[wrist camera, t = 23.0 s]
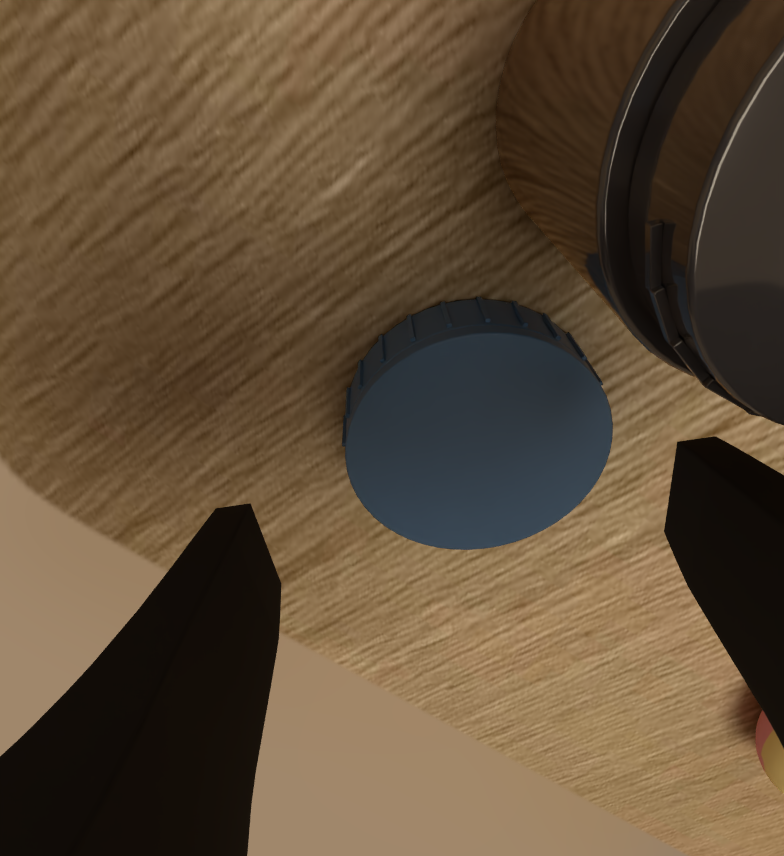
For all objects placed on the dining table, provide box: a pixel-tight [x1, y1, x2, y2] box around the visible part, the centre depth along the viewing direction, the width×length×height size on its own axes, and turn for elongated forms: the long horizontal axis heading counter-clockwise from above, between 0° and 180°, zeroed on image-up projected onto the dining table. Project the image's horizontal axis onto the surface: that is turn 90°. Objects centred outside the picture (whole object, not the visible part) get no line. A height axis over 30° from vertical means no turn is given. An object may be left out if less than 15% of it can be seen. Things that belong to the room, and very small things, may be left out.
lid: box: [342, 297, 613, 550], centre depth 14 cm, size 6×6×2 cm
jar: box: [496, 0, 784, 425], centre depth 8 cm, size 5×5×8 cm
